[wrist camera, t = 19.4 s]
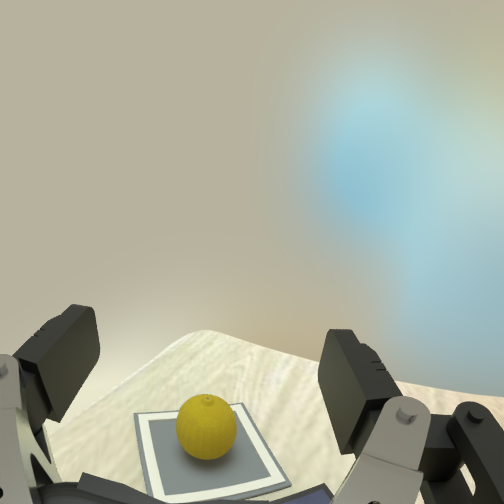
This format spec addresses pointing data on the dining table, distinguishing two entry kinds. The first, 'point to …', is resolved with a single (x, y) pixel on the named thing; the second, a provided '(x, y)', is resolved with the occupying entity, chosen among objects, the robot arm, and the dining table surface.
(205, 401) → the lemon
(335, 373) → the robot arm
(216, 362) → the dining table surface
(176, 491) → the marked board
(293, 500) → the ink pad
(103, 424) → the dining table surface
